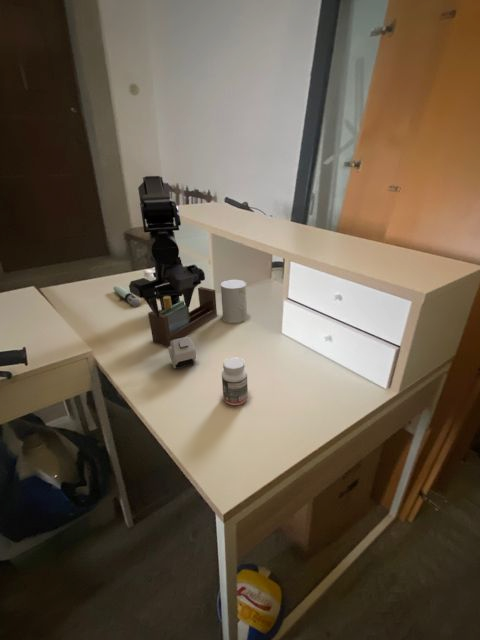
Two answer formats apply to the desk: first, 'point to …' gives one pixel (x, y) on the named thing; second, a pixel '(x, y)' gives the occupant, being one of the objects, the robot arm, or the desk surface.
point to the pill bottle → (234, 381)
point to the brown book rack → (183, 319)
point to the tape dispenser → (182, 352)
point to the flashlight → (127, 296)
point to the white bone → (149, 274)
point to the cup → (234, 301)
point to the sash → (170, 305)
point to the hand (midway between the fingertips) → (173, 311)
